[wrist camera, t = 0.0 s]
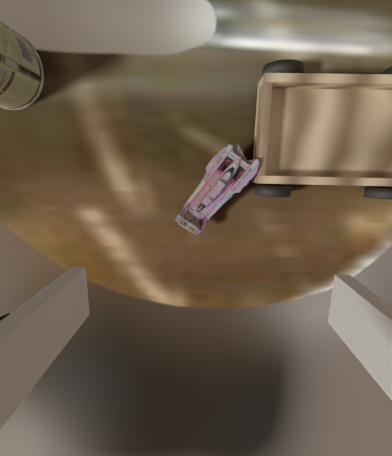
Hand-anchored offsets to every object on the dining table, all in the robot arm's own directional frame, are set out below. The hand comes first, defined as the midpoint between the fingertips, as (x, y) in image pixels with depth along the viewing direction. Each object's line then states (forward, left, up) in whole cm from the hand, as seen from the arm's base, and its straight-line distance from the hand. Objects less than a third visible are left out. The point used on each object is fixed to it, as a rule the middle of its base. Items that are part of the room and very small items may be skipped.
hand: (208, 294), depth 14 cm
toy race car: (-2, 0, -29) cm, 29 cm away
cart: (-11, +18, -28) cm, 35 cm away
